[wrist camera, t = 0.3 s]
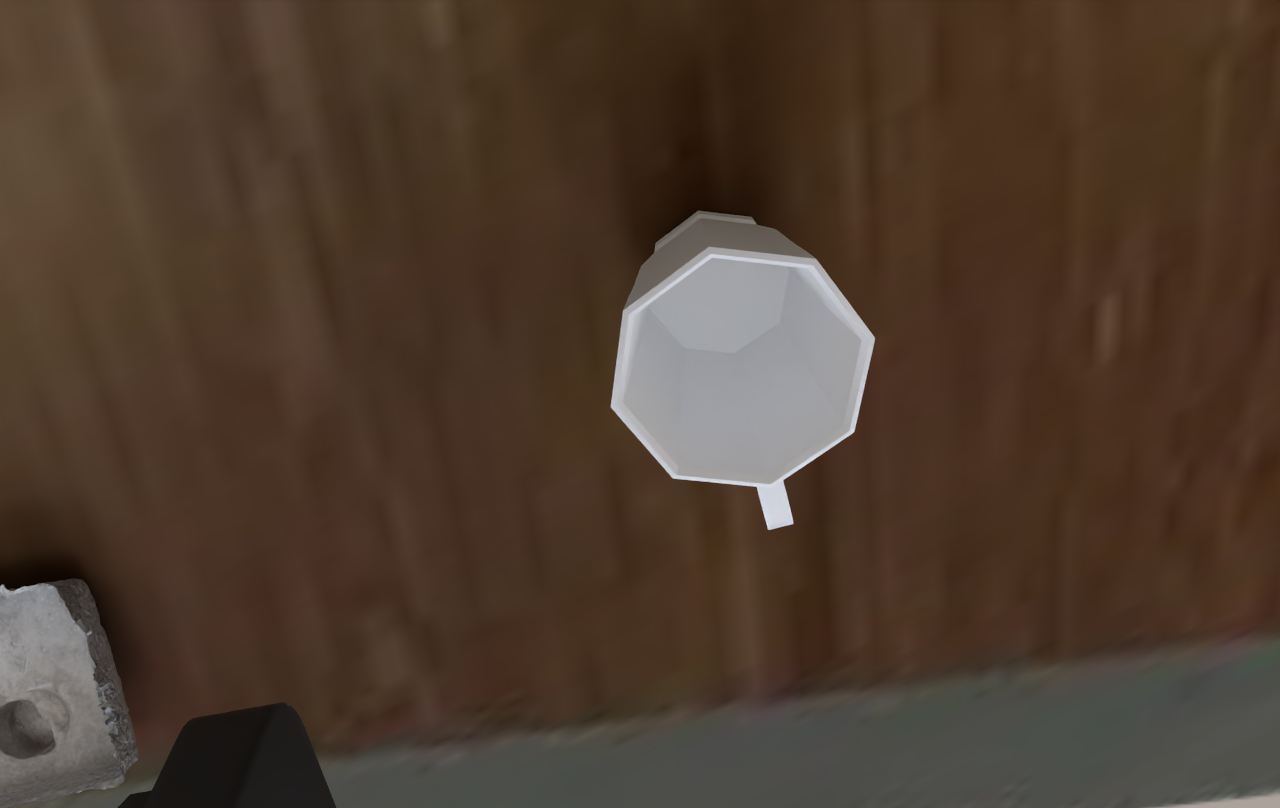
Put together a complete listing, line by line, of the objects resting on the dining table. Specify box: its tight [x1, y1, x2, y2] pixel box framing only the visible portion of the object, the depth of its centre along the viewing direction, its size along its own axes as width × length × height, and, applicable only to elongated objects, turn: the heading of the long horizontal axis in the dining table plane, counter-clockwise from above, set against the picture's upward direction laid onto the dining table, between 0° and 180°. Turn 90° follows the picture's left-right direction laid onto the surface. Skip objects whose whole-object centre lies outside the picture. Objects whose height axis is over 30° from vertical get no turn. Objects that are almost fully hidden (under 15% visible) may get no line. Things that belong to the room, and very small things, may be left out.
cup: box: [611, 211, 875, 530], centre depth 35 cm, size 7×10×8 cm
